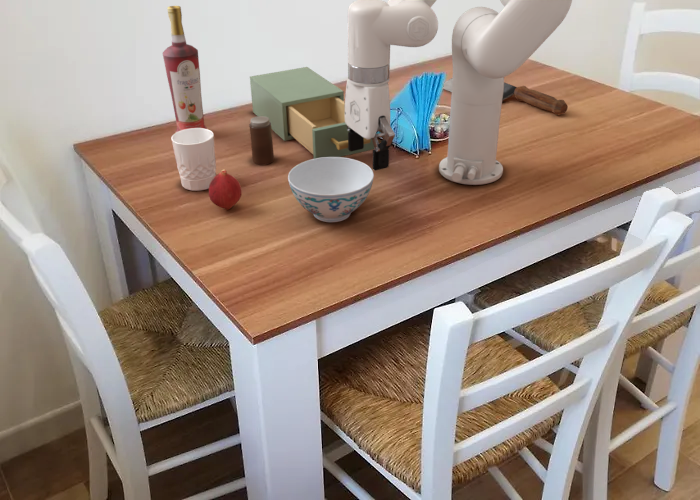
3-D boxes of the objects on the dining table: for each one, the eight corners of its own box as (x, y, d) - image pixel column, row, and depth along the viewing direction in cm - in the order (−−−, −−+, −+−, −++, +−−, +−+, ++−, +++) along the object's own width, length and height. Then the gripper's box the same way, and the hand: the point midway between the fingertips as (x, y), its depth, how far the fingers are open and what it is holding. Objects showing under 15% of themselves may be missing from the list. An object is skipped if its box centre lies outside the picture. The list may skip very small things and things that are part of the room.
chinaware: (279, 203, 132) (276, 166, 128) (353, 188, 137) (352, 151, 133) (308, 242, 120) (306, 201, 116) (387, 223, 125) (388, 183, 121)
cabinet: (344, 128, 162) (343, 91, 157) (284, 141, 156) (281, 102, 152) (308, 101, 177) (307, 66, 172) (252, 112, 171) (249, 76, 167)
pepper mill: (268, 165, 146) (265, 124, 141) (249, 163, 147) (245, 122, 142) (277, 157, 149) (274, 116, 144) (258, 154, 150) (254, 114, 146)
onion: (211, 218, 127) (206, 178, 123) (210, 203, 132) (205, 164, 128) (244, 215, 128) (239, 175, 124) (242, 200, 133) (237, 161, 129)
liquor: (181, 144, 156) (161, 13, 141) (171, 133, 161) (151, 5, 146) (213, 137, 158) (196, 8, 144) (202, 126, 164) (185, 1, 149)
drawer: (384, 156, 146) (385, 125, 143) (325, 170, 141) (323, 138, 137) (335, 120, 164) (334, 91, 160) (281, 131, 159) (278, 101, 155)
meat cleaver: (436, 86, 185) (437, 71, 182) (468, 77, 190) (469, 62, 188) (535, 127, 162) (537, 110, 159) (568, 115, 167) (571, 99, 165)
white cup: (183, 195, 135) (175, 147, 130) (175, 178, 141) (167, 131, 136) (223, 188, 138) (217, 140, 132) (214, 171, 144) (208, 125, 138)
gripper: (328, 62, 133) (330, 146, 142) (374, 90, 120) (373, 180, 129) (363, 56, 136) (363, 139, 145) (411, 82, 123) (408, 172, 132)
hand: (367, 158), depth 137 cm, fingers open, 9 cm apart
